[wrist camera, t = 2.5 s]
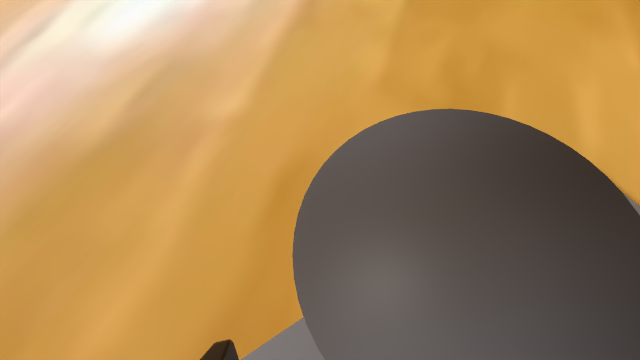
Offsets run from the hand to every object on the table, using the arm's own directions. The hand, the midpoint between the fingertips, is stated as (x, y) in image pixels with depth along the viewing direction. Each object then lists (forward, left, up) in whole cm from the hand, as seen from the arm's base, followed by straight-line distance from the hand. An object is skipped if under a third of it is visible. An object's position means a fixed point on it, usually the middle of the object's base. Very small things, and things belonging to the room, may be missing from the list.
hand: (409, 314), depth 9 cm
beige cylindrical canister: (0, 0, -7) cm, 7 cm away
